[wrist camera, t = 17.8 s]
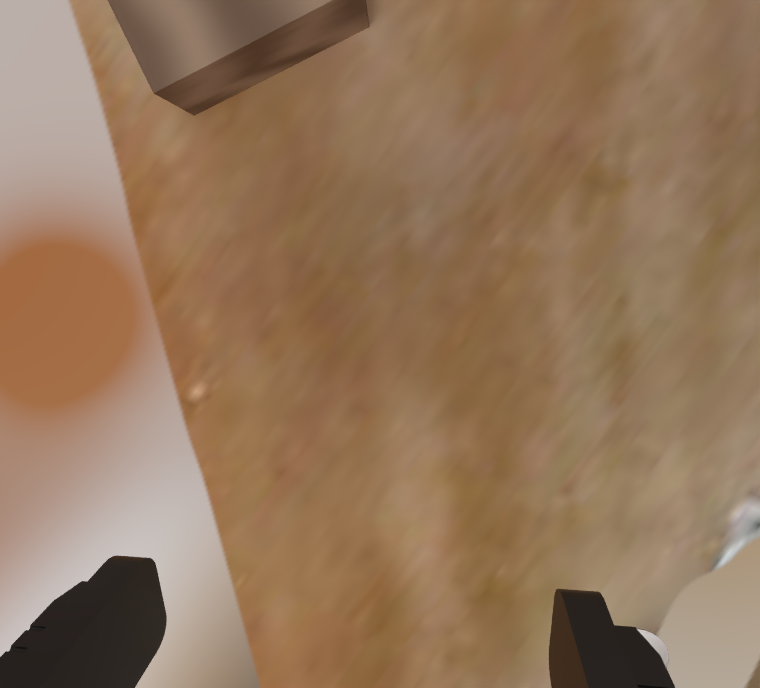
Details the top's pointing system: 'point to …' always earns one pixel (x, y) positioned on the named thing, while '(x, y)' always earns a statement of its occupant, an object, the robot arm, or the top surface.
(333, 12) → the walnut block
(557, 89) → the top surface
